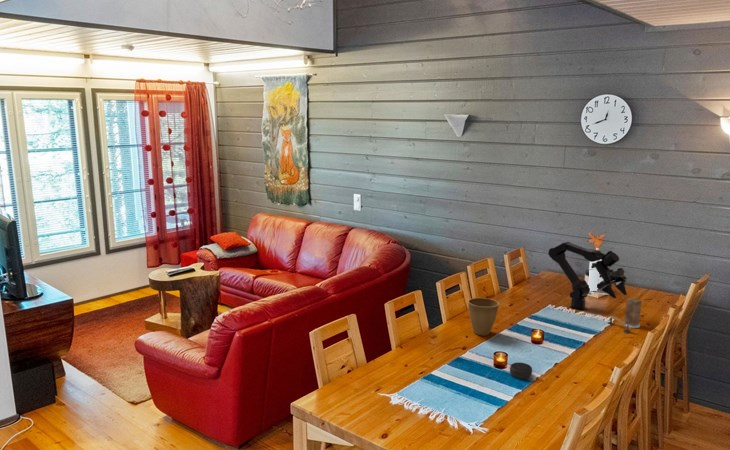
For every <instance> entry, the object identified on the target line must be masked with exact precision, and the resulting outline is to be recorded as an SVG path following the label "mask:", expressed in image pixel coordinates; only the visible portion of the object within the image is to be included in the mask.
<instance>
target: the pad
mask: <svg viewBox="0 0 730 450" xmlns="http://www.w3.org/2000/svg"><path fill="white" fill-rule="evenodd" d="M623 326H624V327H626V325H623ZM629 328H630V329H640V328H641V324H640V323H639V325H636V326H631V325H629V327H628V329H629Z"/></svg>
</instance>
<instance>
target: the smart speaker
mask: <svg viewBox="0 0 730 450" xmlns="http://www.w3.org/2000/svg"><path fill="white" fill-rule="evenodd" d="M509 374H510V375H511V376H512V377H514V378H517V379H520V380H521V379H522V380H525V379H529V378H531V377H532V375H533V367H532V366H531V365H529V364H528V363H525V362H514V363H511V364H510V366H509Z"/></svg>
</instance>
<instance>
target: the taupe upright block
mask: <svg viewBox="0 0 730 450" xmlns="http://www.w3.org/2000/svg"><path fill="white" fill-rule="evenodd" d="M641 308H642V300H641V299H638V298H636V297H635V298H634V297H630V298H627V299H626V304H625V313H624V322H625V323H628V324H629V325H631V326H636V325H639V324H640V320H641V319H640V318H641V310H642V309H641Z"/></svg>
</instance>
